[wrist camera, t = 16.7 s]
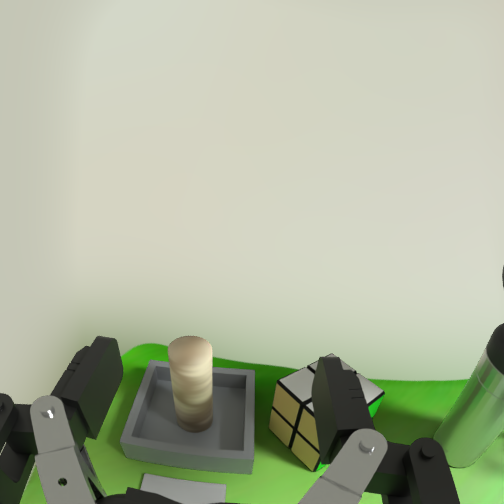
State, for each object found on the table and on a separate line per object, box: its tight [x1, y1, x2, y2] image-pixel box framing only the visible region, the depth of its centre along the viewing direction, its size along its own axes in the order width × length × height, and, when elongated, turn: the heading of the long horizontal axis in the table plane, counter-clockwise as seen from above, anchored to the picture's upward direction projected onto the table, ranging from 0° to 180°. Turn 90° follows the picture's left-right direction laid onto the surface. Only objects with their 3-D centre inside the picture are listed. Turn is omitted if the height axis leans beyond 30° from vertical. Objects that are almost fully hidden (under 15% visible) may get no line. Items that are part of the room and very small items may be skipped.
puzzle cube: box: [269, 354, 385, 472], centre depth 38 cm, size 10×10×10 cm
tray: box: [120, 360, 255, 474], centre depth 39 cm, size 16×16×4 cm
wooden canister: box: [168, 336, 213, 433], centre depth 37 cm, size 5×5×13 cm
